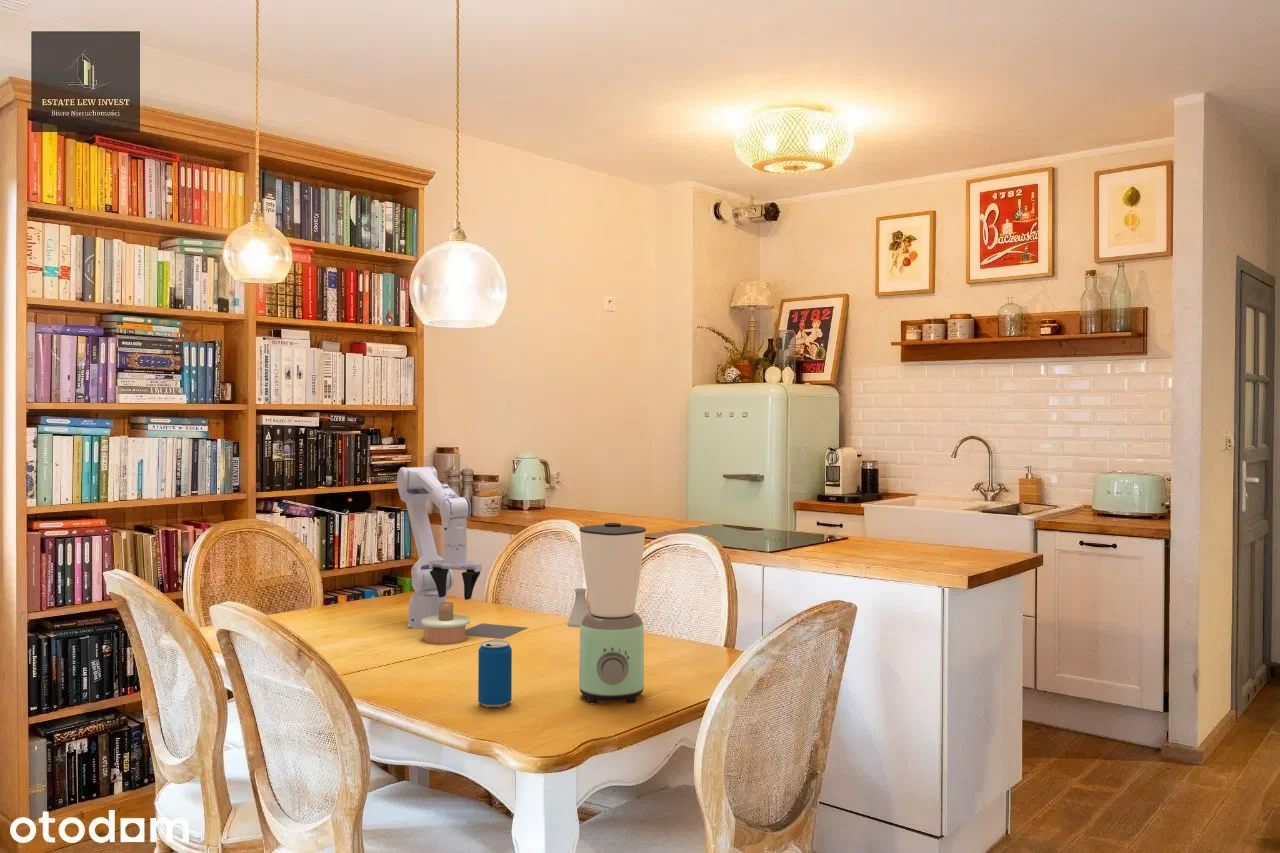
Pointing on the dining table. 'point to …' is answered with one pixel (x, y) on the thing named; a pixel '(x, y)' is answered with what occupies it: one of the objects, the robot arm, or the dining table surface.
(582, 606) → the flask
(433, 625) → the lid
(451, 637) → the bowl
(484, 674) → the beverage can
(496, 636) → the mat
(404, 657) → the dining table surface
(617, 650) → the green blender
